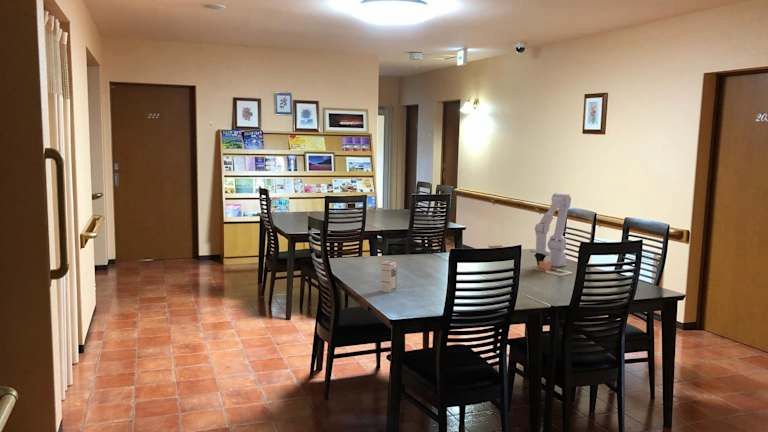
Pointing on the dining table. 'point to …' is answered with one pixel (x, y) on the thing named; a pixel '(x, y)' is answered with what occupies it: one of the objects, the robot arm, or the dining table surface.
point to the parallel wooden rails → (544, 269)
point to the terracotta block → (545, 264)
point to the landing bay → (560, 271)
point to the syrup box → (388, 276)
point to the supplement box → (495, 246)
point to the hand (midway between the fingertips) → (539, 266)
